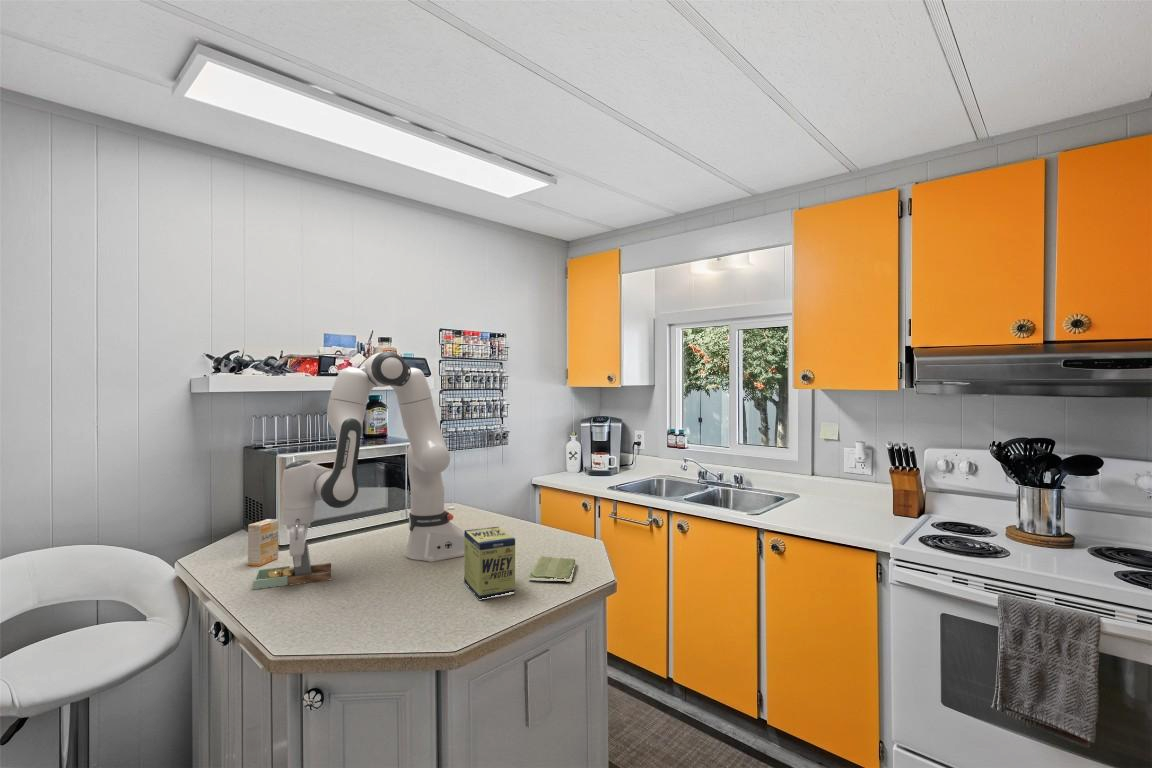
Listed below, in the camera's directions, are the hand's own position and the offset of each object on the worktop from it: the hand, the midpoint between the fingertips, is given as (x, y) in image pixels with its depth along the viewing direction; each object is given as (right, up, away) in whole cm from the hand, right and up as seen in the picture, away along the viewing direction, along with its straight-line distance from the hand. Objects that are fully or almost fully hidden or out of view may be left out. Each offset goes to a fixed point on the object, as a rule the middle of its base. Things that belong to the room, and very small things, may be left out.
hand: (298, 562), depth 164 cm
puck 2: (-2, -5, -1) cm, 5 cm away
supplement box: (-19, -5, +15) cm, 24 cm away
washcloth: (+76, -6, +6) cm, 76 cm away
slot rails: (+3, -5, +1) cm, 6 cm away
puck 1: (-6, -5, -3) cm, 8 cm away
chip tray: (-6, -5, -3) cm, 8 cm away
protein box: (+58, -5, -7) cm, 58 cm away
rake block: (+1, -4, +1) cm, 4 cm away
